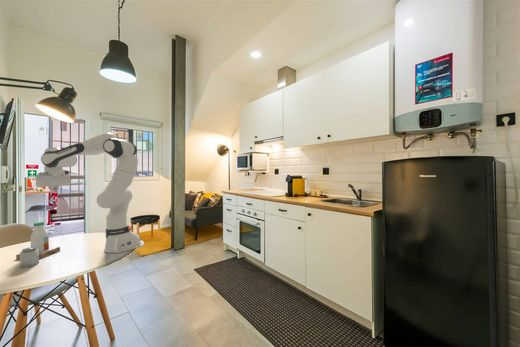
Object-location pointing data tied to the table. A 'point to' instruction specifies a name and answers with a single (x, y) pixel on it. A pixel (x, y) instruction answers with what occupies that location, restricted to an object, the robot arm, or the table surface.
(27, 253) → the grey jar
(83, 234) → the table surface
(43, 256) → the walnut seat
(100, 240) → the table surface
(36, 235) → the milk bottle
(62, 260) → the table surface
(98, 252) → the table surface
